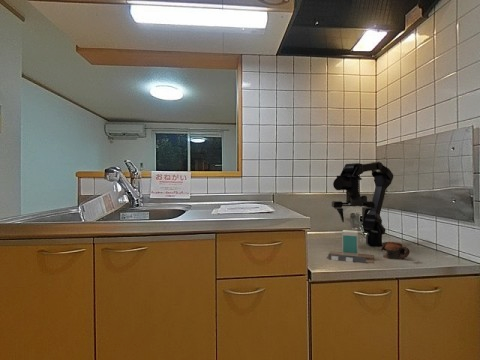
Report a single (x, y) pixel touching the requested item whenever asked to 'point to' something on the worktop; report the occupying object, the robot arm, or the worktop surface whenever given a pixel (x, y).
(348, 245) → the carton
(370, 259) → the shelf board
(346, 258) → the rail
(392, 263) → the worktop surface
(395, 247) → the pottery mug
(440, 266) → the worktop surface
